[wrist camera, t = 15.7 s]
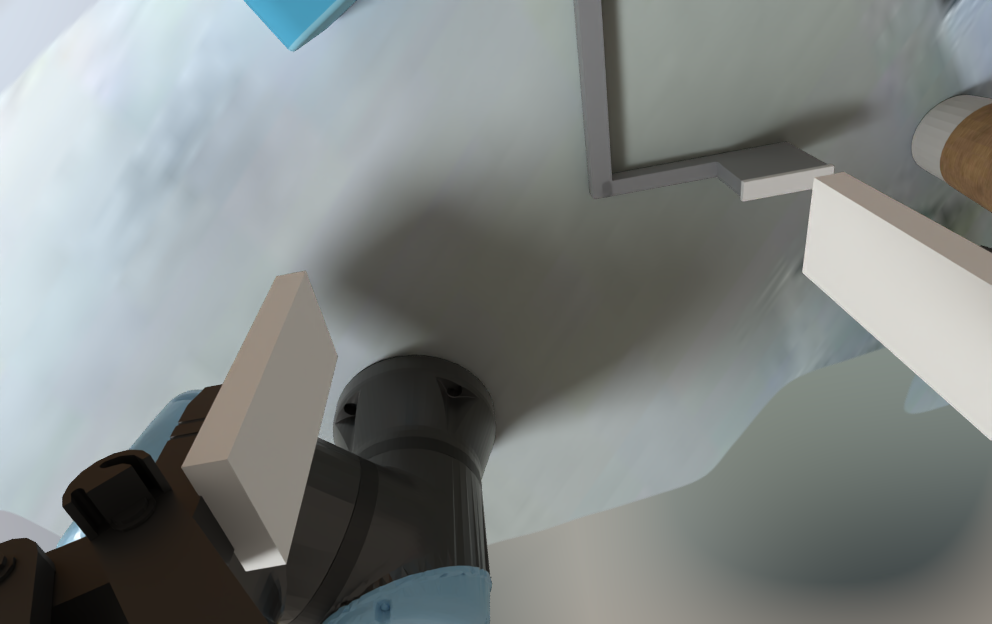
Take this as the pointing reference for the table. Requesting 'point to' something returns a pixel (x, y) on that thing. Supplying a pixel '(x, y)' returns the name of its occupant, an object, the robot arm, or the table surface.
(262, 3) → the data package
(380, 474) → the robot arm
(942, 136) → the coffee cup
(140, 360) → the table surface
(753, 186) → the grey u-shaped frame
